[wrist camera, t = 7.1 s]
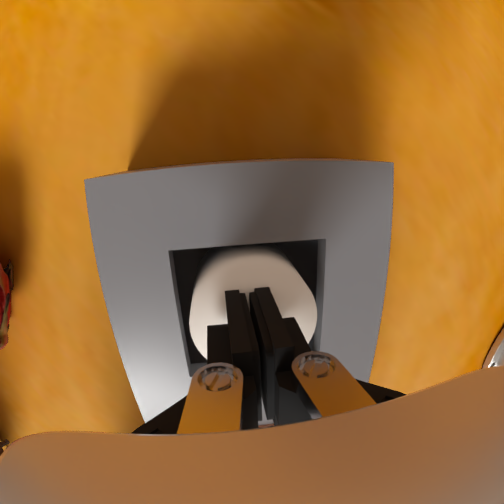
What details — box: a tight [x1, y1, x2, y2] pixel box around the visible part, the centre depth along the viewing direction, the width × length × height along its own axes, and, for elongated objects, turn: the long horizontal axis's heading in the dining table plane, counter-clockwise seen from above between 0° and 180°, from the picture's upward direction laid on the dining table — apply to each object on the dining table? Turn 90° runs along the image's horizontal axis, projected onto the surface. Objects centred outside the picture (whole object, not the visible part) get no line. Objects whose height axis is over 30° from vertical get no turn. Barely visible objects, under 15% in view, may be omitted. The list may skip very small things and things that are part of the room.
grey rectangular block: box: [84, 158, 394, 425], centre depth 17 cm, size 12×22×6 cm, turn 2°
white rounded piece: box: [189, 243, 317, 359], centre depth 14 cm, size 5×5×4 cm
